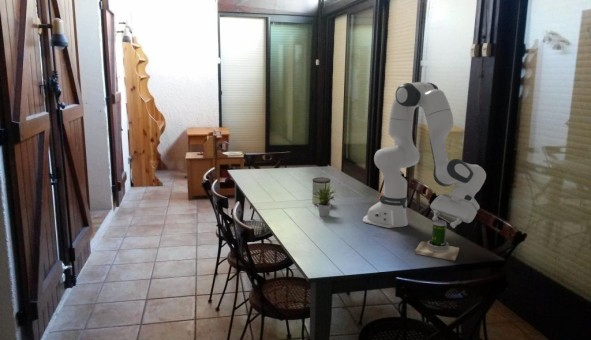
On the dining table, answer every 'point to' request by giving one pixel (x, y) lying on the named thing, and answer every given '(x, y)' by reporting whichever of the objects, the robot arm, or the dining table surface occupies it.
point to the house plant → (324, 201)
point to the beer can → (439, 233)
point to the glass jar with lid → (320, 183)
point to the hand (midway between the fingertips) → (442, 223)
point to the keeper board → (437, 250)
